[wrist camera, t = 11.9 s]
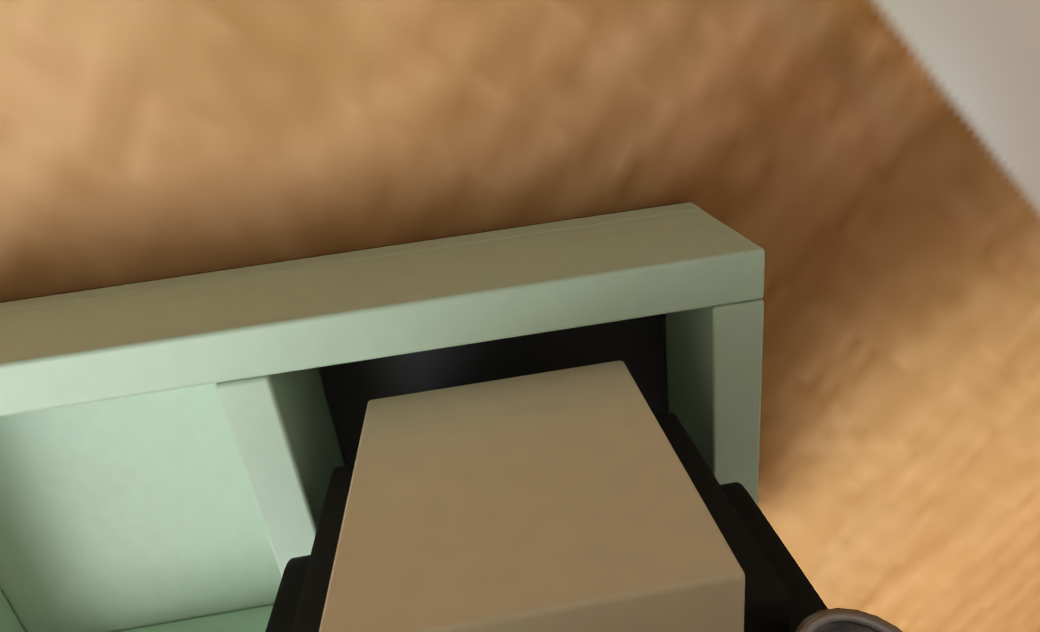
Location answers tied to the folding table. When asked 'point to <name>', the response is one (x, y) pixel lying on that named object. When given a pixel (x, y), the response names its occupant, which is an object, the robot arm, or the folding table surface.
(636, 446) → the beige block
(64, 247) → the folding table surface
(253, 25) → the folding table surface
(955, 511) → the folding table surface
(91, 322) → the pad tray
